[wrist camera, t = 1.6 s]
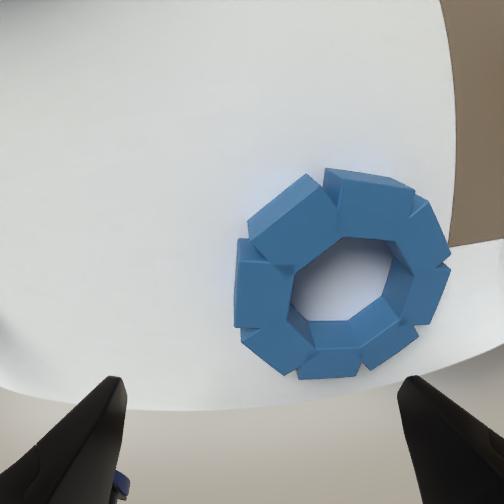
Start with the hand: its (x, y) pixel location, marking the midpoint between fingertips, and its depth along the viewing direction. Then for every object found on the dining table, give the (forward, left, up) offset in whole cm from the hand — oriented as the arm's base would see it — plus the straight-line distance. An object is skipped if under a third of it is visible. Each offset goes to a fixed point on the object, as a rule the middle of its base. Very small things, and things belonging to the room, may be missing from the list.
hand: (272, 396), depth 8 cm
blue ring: (0, -4, -8) cm, 9 cm away
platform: (+12, -15, -8) cm, 21 cm away
